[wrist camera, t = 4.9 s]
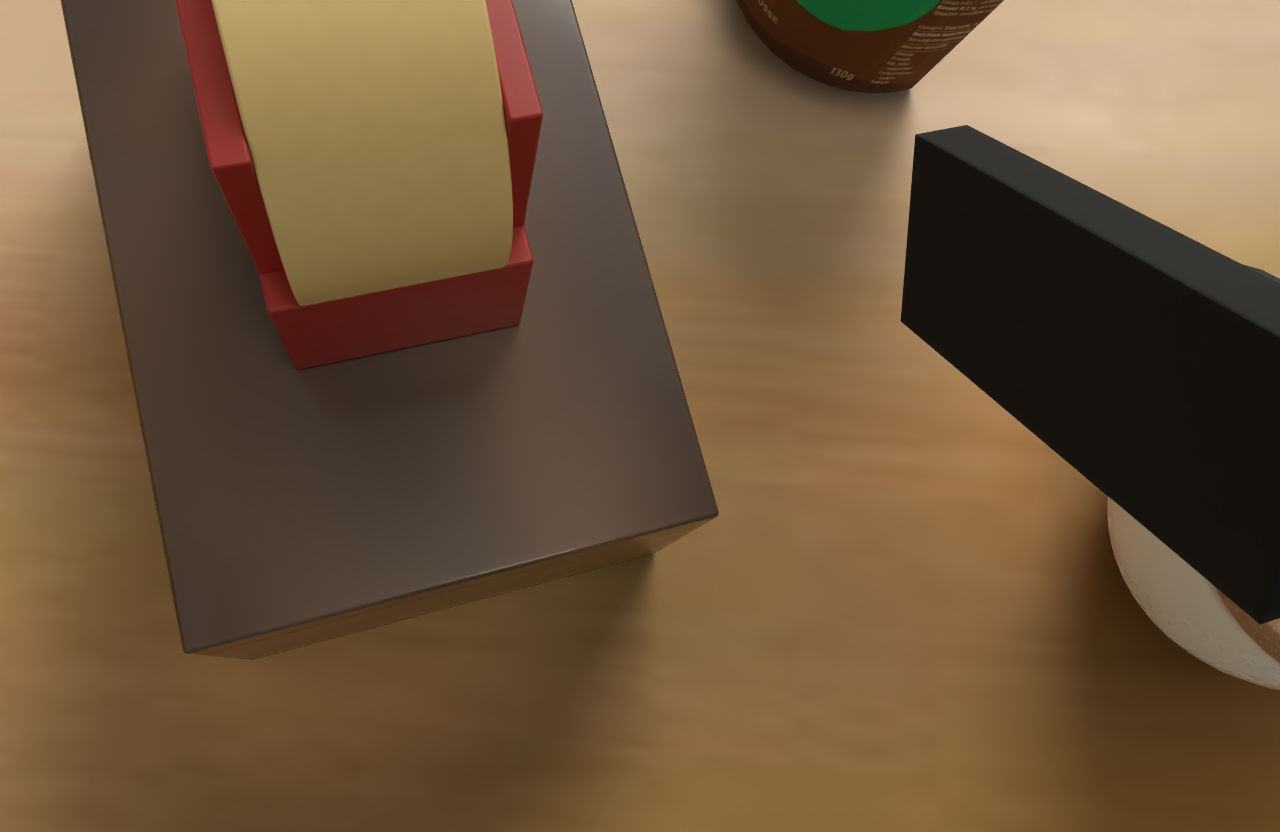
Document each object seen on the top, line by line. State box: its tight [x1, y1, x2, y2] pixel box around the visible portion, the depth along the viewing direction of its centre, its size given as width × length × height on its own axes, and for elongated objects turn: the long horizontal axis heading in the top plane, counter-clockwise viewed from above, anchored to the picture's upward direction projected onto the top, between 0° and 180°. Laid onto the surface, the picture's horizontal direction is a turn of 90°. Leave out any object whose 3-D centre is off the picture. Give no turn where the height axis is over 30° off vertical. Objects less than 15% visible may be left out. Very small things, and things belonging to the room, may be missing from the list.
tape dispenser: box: [175, 0, 544, 370], centre depth 21 cm, size 5×9×10 cm, turn 16°
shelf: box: [61, 0, 719, 660], centre depth 29 cm, size 12×18×8 cm, turn 16°
